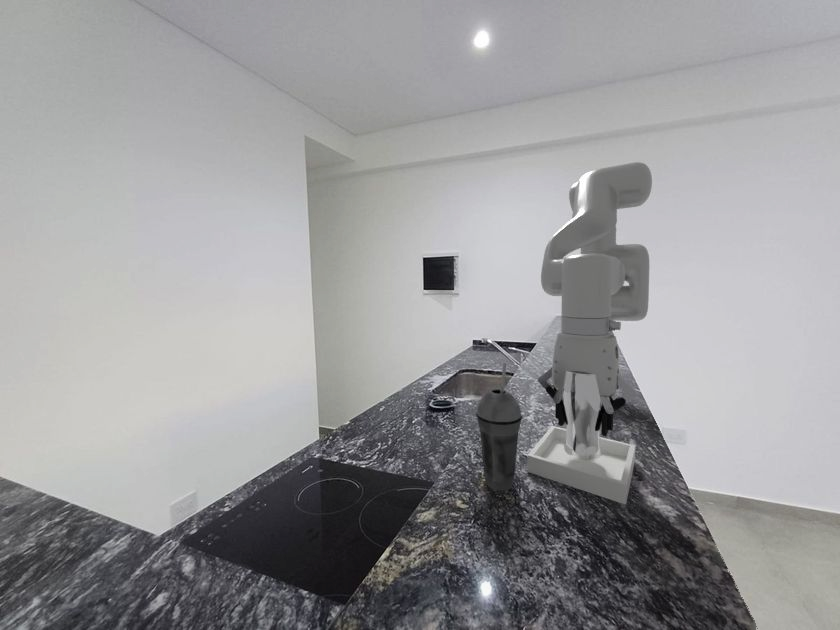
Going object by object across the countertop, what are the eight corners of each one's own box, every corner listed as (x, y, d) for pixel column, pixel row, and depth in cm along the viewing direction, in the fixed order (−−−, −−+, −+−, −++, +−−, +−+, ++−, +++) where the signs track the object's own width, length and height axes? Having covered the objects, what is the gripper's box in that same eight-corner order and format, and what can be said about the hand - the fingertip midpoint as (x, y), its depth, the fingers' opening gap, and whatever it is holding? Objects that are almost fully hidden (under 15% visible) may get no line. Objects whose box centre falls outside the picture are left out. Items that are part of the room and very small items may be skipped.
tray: (551, 439, 68) (551, 425, 67) (634, 461, 59) (635, 445, 58) (527, 471, 56) (527, 455, 56) (625, 504, 47) (626, 485, 47)
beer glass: (594, 443, 60) (595, 364, 59) (612, 463, 53) (614, 374, 52) (555, 442, 61) (556, 364, 60) (569, 462, 54) (569, 374, 53)
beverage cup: (468, 475, 55) (467, 361, 54) (504, 466, 58) (504, 357, 56) (492, 501, 49) (491, 371, 47) (531, 489, 51) (532, 366, 50)
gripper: (647, 327, 53) (643, 432, 54) (540, 322, 64) (540, 410, 65) (644, 333, 47) (640, 451, 49) (527, 326, 58) (526, 423, 59)
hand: (583, 427), depth 57 cm, fingers closed on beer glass, 6 cm apart
